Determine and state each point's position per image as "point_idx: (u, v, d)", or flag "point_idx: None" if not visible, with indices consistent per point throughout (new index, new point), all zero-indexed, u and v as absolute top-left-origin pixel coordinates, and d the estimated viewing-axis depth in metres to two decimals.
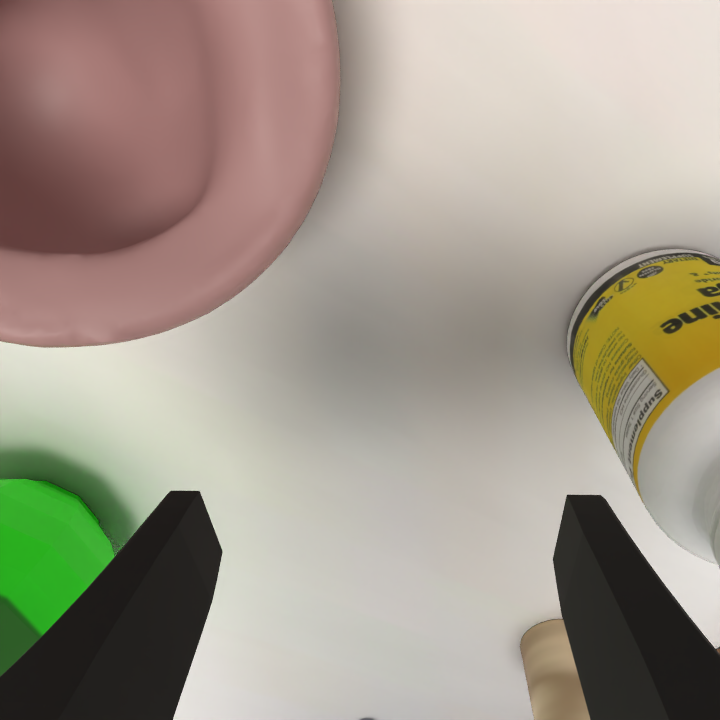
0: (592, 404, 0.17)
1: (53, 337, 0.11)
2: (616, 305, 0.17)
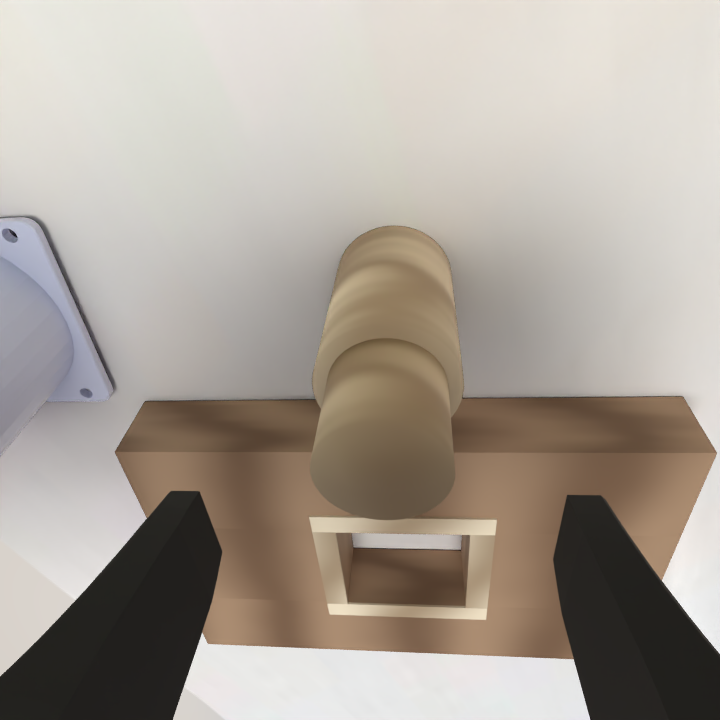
0: None
1: None
2: None
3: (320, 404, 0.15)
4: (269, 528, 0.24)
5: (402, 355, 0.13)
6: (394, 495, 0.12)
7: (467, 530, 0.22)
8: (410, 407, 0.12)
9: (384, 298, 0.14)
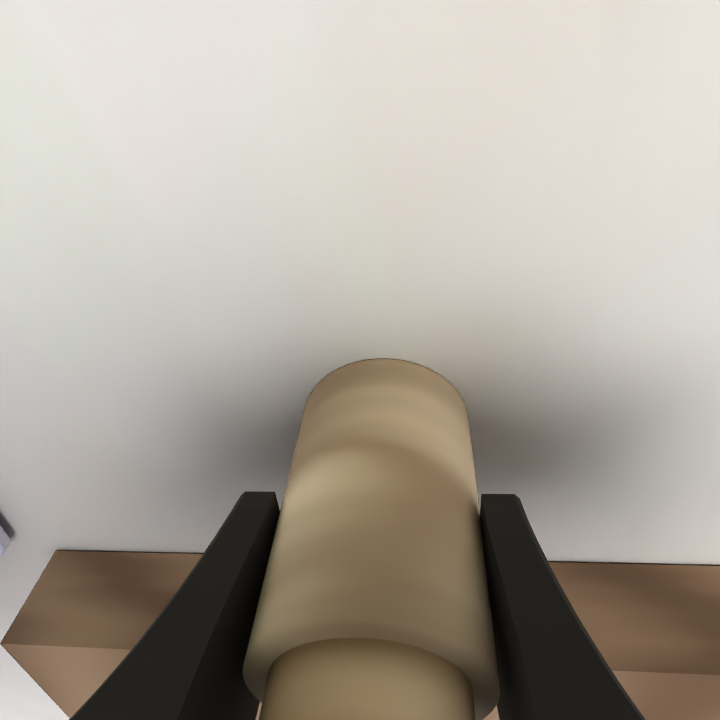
0: None
1: None
2: None
3: (260, 698, 0.09)
4: None
5: (393, 692, 0.07)
6: None
7: None
8: None
9: (364, 541, 0.08)
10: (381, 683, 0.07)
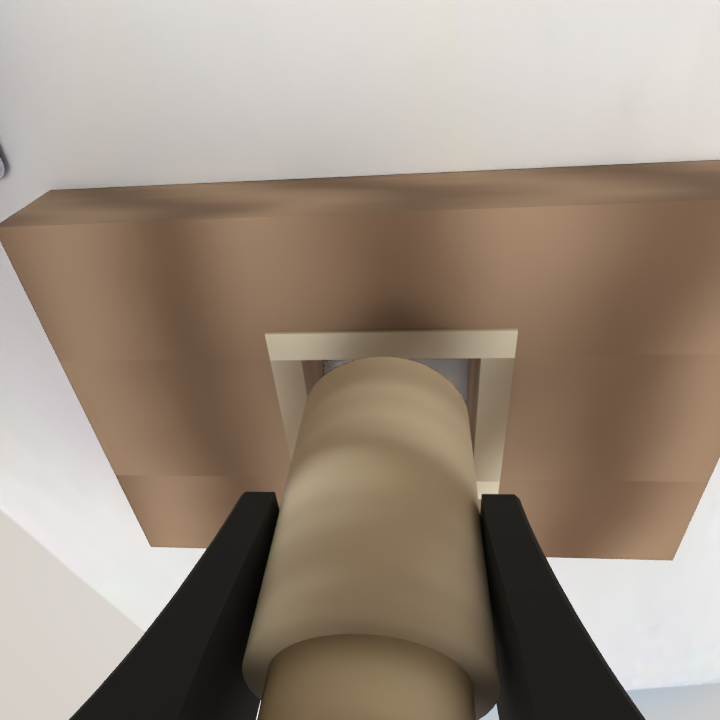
0: None
1: None
2: None
3: (259, 696, 0.09)
4: (213, 358, 0.18)
5: (394, 688, 0.07)
6: None
7: (477, 350, 0.17)
8: None
9: (364, 538, 0.08)
10: (381, 679, 0.07)
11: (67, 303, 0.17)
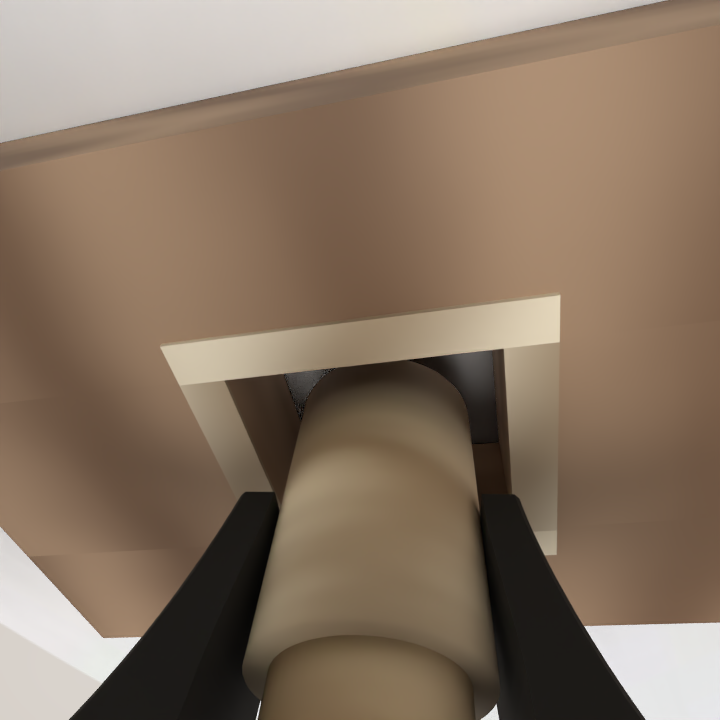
0: None
1: None
2: None
3: (259, 697, 0.09)
4: (100, 390, 0.12)
5: (394, 689, 0.07)
6: None
7: (496, 336, 0.10)
8: None
9: (364, 540, 0.08)
10: (381, 680, 0.07)
11: None
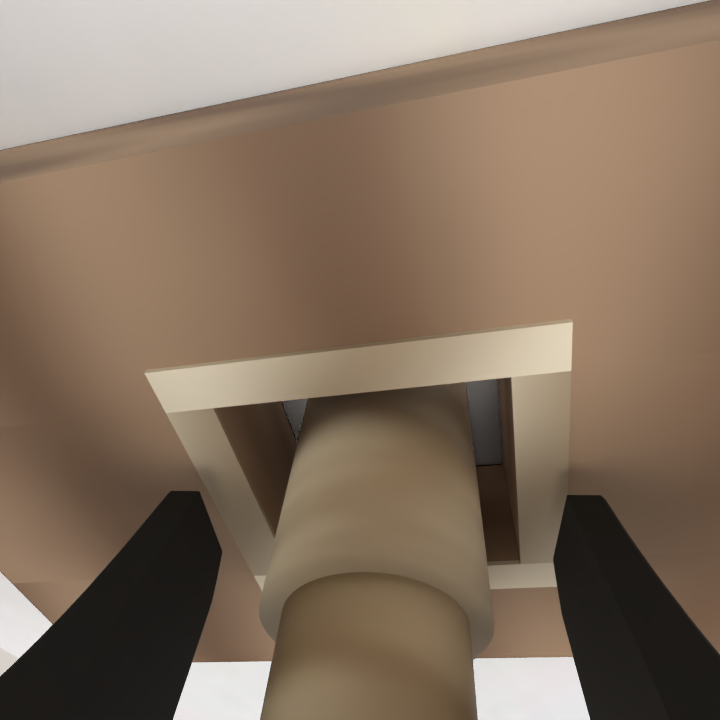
0: None
1: None
2: None
3: (273, 637, 0.10)
4: (83, 417, 0.11)
5: (398, 616, 0.08)
6: None
7: (502, 364, 0.09)
8: None
9: (370, 489, 0.09)
10: (386, 609, 0.08)
11: None
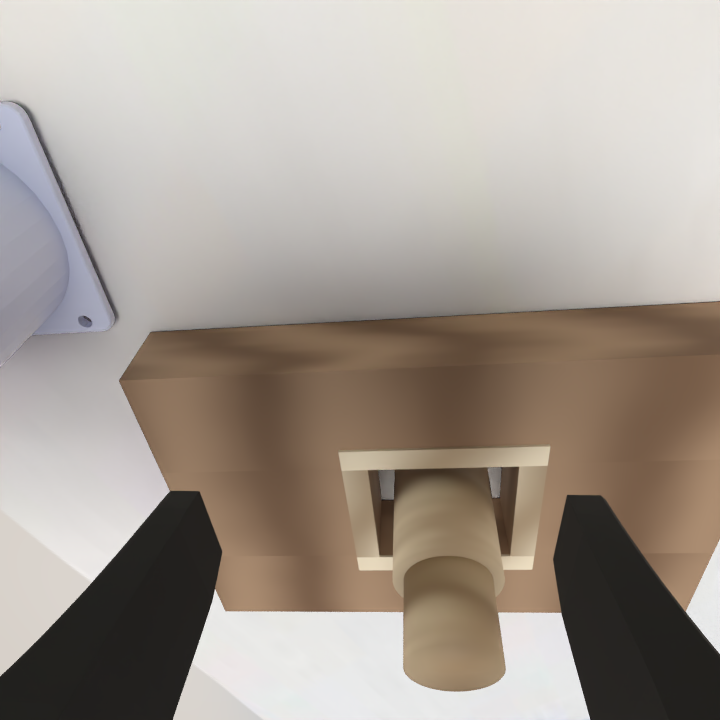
0: None
1: None
2: None
3: (395, 586, 0.20)
4: (292, 468, 0.21)
5: (468, 575, 0.18)
6: (459, 679, 0.18)
7: (516, 461, 0.20)
8: (479, 629, 0.17)
9: (451, 517, 0.20)
10: (463, 572, 0.18)
11: (173, 432, 0.20)
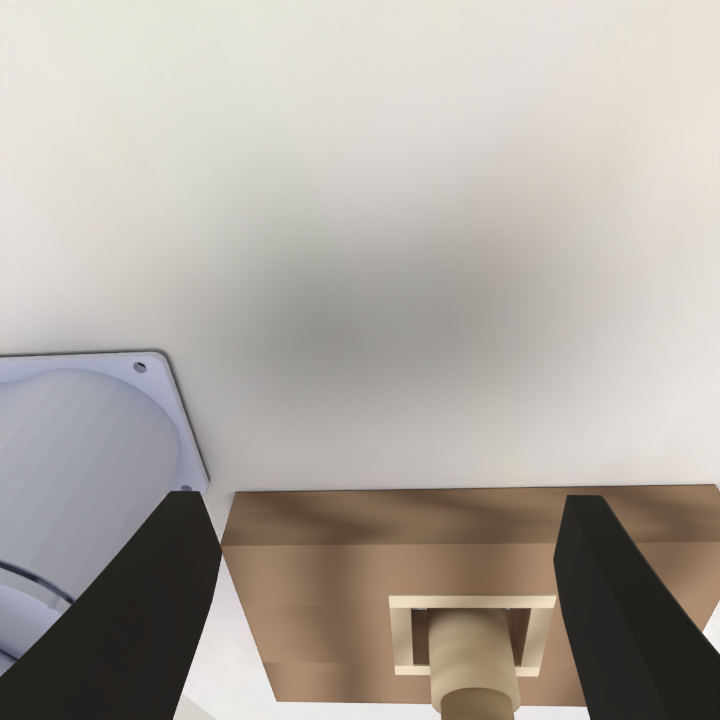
0: None
1: None
2: None
3: (433, 705, 0.25)
4: (349, 604, 0.26)
5: (494, 705, 0.24)
6: None
7: (529, 604, 0.25)
8: None
9: (478, 653, 0.25)
10: (490, 702, 0.24)
11: (257, 579, 0.25)
